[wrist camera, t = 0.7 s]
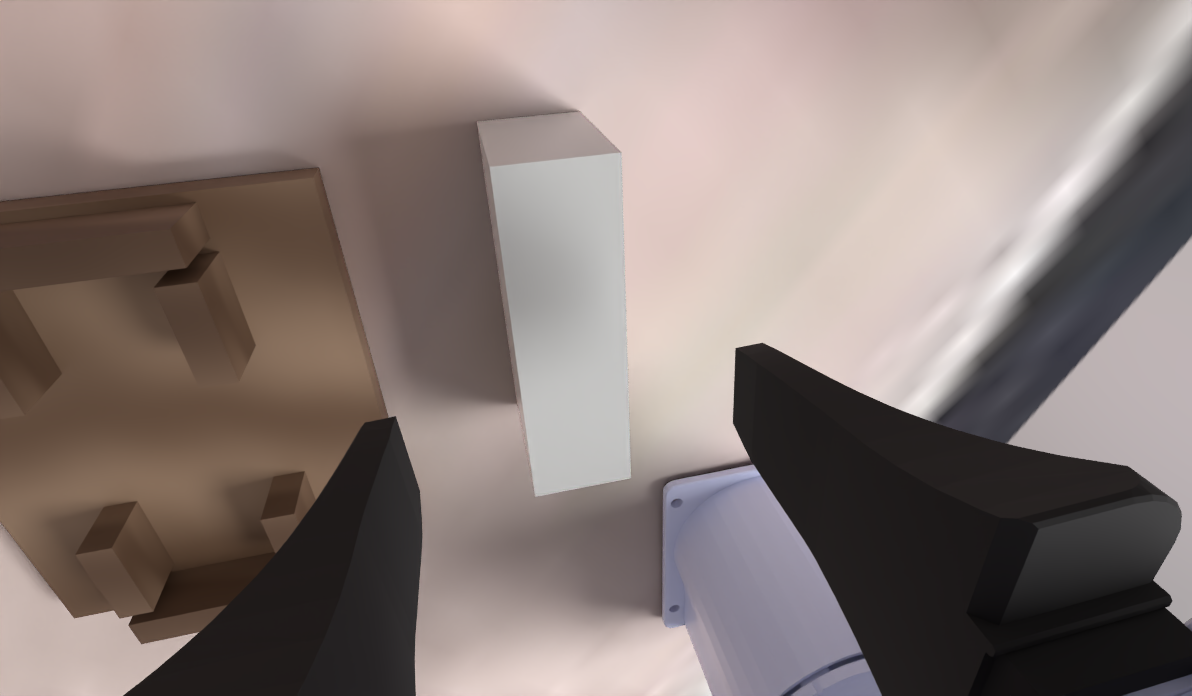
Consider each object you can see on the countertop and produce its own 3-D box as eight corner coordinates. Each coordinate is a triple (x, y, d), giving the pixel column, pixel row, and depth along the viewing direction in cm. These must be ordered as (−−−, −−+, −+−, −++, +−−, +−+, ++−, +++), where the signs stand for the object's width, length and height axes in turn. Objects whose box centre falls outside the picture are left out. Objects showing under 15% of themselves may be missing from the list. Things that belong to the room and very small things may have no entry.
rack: (419, 529, 25) (418, 591, 23) (86, 595, 23) (45, 670, 21) (318, 167, 18) (300, 201, 15) (-184, 221, 16) (-300, 269, 13)
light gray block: (596, 388, 24) (630, 478, 20) (516, 402, 24) (535, 496, 19) (578, 110, 19) (621, 152, 15) (476, 120, 18) (489, 167, 14)
